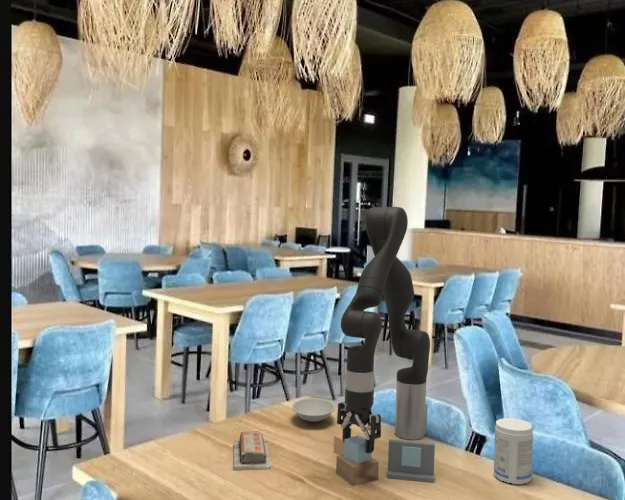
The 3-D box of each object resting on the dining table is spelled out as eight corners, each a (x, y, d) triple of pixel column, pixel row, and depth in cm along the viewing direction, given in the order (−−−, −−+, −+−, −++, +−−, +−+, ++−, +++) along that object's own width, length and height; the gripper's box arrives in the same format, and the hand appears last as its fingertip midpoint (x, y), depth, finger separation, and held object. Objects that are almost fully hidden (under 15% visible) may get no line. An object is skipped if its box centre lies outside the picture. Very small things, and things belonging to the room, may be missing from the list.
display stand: (388, 468, 164) (389, 436, 164) (433, 472, 162) (434, 440, 161) (387, 478, 158) (388, 444, 158) (433, 482, 156) (435, 448, 156)
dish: (334, 431, 190) (334, 416, 190) (288, 429, 191) (289, 414, 191) (336, 413, 208) (336, 399, 208) (294, 411, 209) (294, 396, 209)
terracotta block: (346, 448, 177) (347, 432, 177) (358, 454, 174) (358, 437, 173) (333, 452, 174) (334, 435, 174) (345, 458, 170) (346, 441, 170)
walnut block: (361, 468, 164) (362, 450, 164) (378, 480, 157) (378, 462, 157) (336, 474, 160) (336, 455, 160) (352, 486, 153) (352, 467, 153)
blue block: (357, 453, 162) (358, 435, 162) (371, 459, 158) (371, 440, 158) (344, 457, 159) (344, 439, 158) (357, 464, 155) (358, 445, 155)
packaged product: (233, 429, 178) (267, 429, 179) (233, 445, 178) (267, 445, 180) (233, 454, 160) (271, 453, 162) (233, 472, 161) (271, 471, 162)
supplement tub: (529, 472, 164) (531, 419, 163) (533, 488, 155) (536, 431, 154) (491, 468, 166) (494, 415, 165) (494, 483, 157) (496, 428, 156)
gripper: (389, 391, 154) (387, 452, 155) (351, 378, 165) (349, 436, 166) (368, 396, 149) (366, 460, 150) (330, 382, 160) (329, 442, 161)
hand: (357, 447), depth 158 cm, fingers open, 8 cm apart
